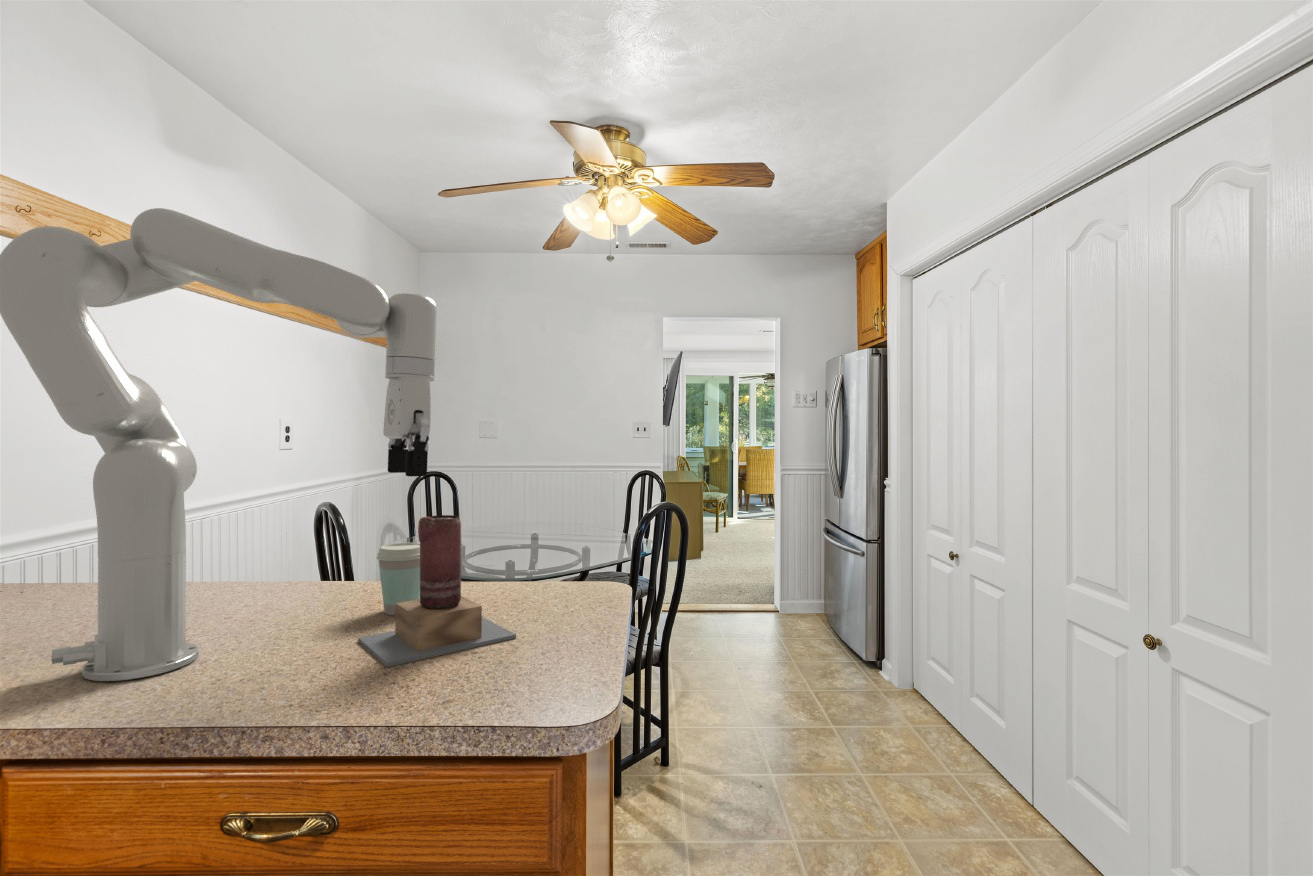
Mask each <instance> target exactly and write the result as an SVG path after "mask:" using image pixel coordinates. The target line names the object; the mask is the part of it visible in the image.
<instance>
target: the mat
mask: <svg viewBox="0 0 1313 876" xmlns="http://www.w3.org/2000/svg"><path fill="white" fill-rule="evenodd" d="M357 638H358V640H357V641H358V643H359V644H361V646H362V647H364V649H366V650H367V651H368V652H370V654H371V655H373V656H374V657H375V658H376V659H377V660H378V661H379V662H381V664H383V665H384V666H385V667H386V668H391V667H394V666H398V665H399V666H400V665H402V664H407V663H412V662H416V661H417V662H418V661H421V660H424V659H425V660H426V659H430V658H434V657H439V656H442V655H447V654H453V653H456V652H460V651H465V650H469V649H470V650H471V649H473V648H478V647H482V646H483V647H484V646H487V645H491V644H496V643H499V642H501V643H502V642H505V641H509V640H514V639H516V638H517V634H516V633H514V632H512V631H510V630H509V629H506V628H505V627H503V626H501V625H500V624H497V623H495V622H493V621H491V620H489V619H487V618H486V617H484V616H482V636H481V638H477V639H473V640H468V641H463V642H459V643H454V644H449V645H445V646H440V647H436V648H431V649H426V650H422V651H417V650H415V649H414V648H413V647H411V646H410V645H409V644H407V643H406V642H405V641H403V640H402V639H401V638H399V637H398V636H397V635H395V630H391V631H386V632H380V633H376V634H371V635H365V636H359V637H357Z"/></svg>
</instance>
